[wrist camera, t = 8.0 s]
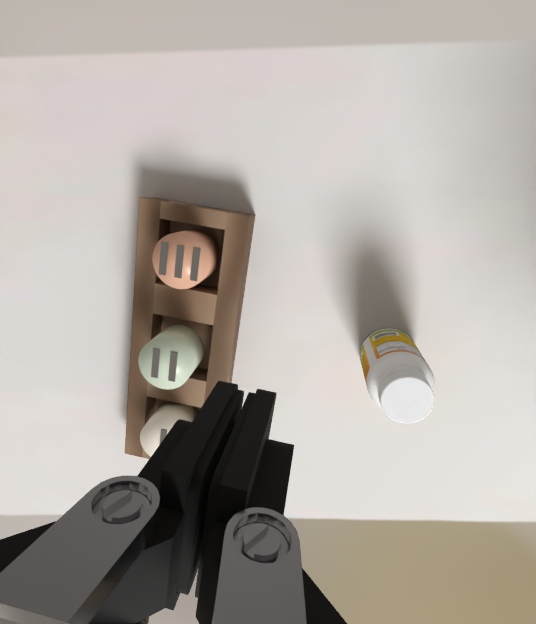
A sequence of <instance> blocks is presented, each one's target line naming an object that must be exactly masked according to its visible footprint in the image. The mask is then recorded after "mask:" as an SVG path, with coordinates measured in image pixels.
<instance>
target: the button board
mask: <svg viewBox="0 0 536 624" xmlns="http://www.w3.org/2000/svg"><path fill="white" fill-rule="evenodd" d="M254 220H255V215H253V214H247V213H241V212H235V211H229V210H223V209H218V208H212V207H206V206H200V205H194V204H188V203H182V202H176V201H171V200H165V199H159V198H139V214H138V232H137V249H136V266H135V283H134V301H133V318H132V335H131V352H130V370H129V387H128V404H127V422H126V439H125V453H126V454H130V455H134V456H139V457H143V458H148V459H150V458H151V457H150V456H149V455H148V454H147V453H146V452H145V451H144V449H143V448H142V445H141V442H140V433H141V430H142V428H143V427H144V426H145V424H146V423H147V422H148V420H149V419H150V418H151V417H152V415H153V414H154V413H155V411H156V410H157V409H158V408H159V406H160V405H161V404H162V403H164V402H166V401H172V402H176V403H181V404H186V405H191V406H192V407H193V408H194V410H195V411H196V413H197V414H198V412H199V410H200V409H201V407H202V406H203V404H204V402H205V401H206V399H207V398H208V396H209V395H210V393H211V391H212V390H213V388H214V387H215V385H216V383H217V382H218V381H223V382H228V383H231V381H232V374H233V367H234V360H235V353H236V346H237V339H238V332H239V325H240V318H241V311H242V304H243V297H244V290H245V283H246V276H247V269H248V262H249V255H250V248H251V241H252V234H253V227H254ZM189 229H196V230H200V231H203V232H205V233H206V234H208V235H209V236H210V237H211V238H212V239H213V240H214V242H215V243H216V245H217V248H218V252H219V261H218V265H217V267H216V269H215V271H214V272H213V273H212V274H211V275H210V276H208V277H207V278H206V279H204V280H203V281H201V282H200V283H198V284H197V285H195V286H193V287H191V288H188V289H176V288H173V287H170V286H168V285H167V284H165V283H164V282H163V281H162V280H161V279H160V278H159V277H158V275H157V274H156V272H155V269H154V266H153V251H154V248H155V246H156V244H157V243H158V242H159V240H161V239H162V238H163V237H164V236H166V235H169V234H172V233H176V232H180V231H184V230H189ZM172 325H183V326H187V327H189V328H191V329H192V330H194V331H195V332H196V333H197V334H198V335H199V337H200V338H201V340H202V342H203V346H204V355H203V358H202V360H201V362H200V363H199V365H198V366H197V367H196V369H195V370H194V371H193V373H192V374H191V376H190V377H189V378H188V380H187V381H186V382H185V383H184V384H183V385H182V386H180V387H178V388H175V389H161V388H158V387H155V386H154V385H152V384H151V383H149V382H148V381H147V380H146V379H145V378H144V376H143V375H142V373H141V371H140V368H139V363H138V359H139V354H140V352H141V350H142V348H143V347H144V346H145V345H146V344H147V343H148V342H149V341H151V340H152V339H153V338H154V337H155V336H157V335H158V334H159V333H160V332H161V331H163V330H164V329H165V328H167V327H169V326H172Z"/></svg>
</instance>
